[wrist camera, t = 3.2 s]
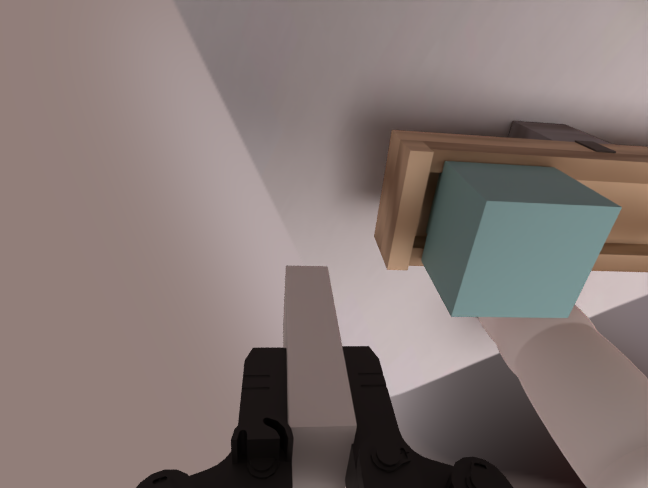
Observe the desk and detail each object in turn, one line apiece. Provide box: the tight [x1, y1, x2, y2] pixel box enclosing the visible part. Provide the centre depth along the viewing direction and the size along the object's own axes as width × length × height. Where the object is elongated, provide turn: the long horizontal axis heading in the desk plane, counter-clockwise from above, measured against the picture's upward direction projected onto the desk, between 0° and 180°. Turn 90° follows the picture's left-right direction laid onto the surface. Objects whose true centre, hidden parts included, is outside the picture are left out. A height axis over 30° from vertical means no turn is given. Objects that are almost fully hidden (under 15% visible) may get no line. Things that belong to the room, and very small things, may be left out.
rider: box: [421, 161, 622, 318], centre depth 21 cm, size 6×6×6 cm
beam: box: [374, 121, 648, 272], centre depth 26 cm, size 7×24×12 cm, turn 85°
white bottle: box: [478, 305, 648, 488], centre depth 26 cm, size 7×7×25 cm
